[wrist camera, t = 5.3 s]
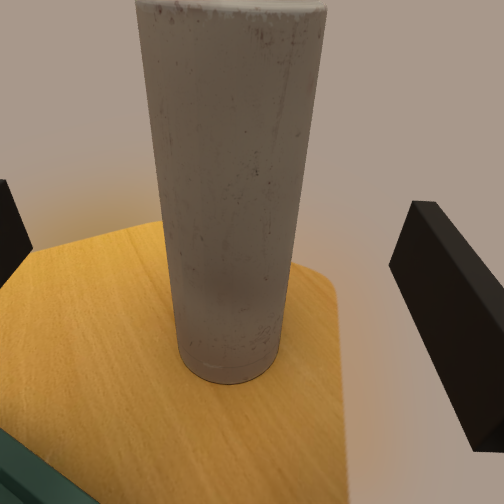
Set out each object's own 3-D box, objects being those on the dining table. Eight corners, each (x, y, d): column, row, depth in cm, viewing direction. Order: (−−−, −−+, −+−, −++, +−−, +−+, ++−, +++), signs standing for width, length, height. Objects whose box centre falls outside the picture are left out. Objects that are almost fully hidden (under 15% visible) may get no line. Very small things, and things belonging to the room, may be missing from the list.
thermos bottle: (203, 294, 33) (179, -171, 16) (288, 317, 31) (367, -178, 14) (159, 366, 27) (41, -270, 9) (263, 398, 25) (347, -303, 8)
